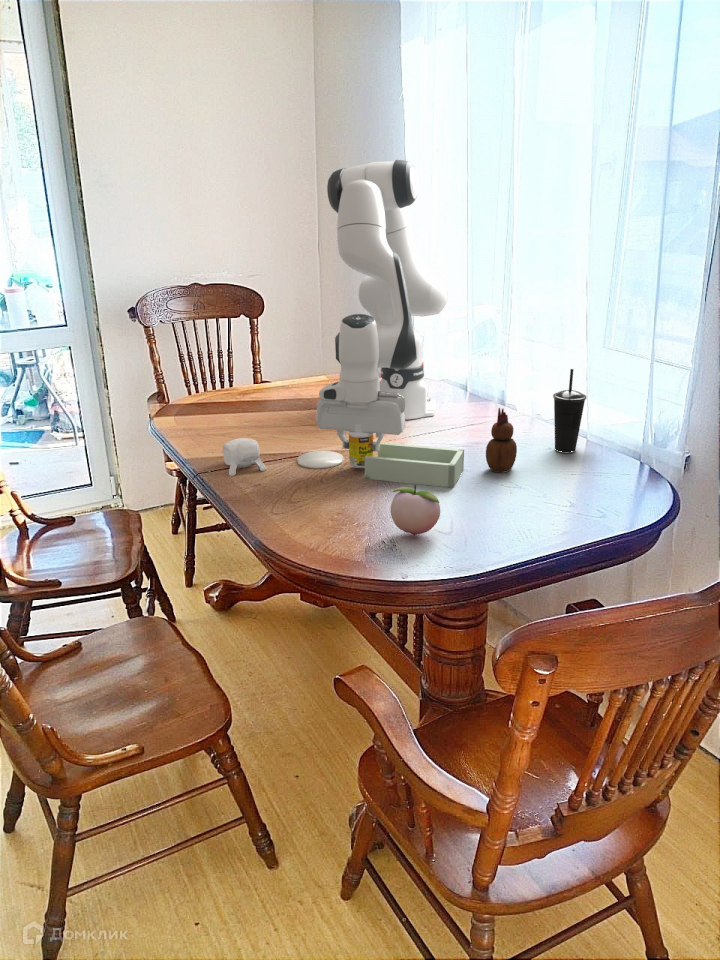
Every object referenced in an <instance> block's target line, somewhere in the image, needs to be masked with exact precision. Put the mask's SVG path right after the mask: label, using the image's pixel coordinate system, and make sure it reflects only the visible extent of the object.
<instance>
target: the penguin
mask: <svg viewBox="0 0 720 960" xmlns="http://www.w3.org/2000/svg"><path fill="white" fill-rule="evenodd" d="M222 455H223V460H224V463H225V465H227V466H229V469H228V476H230V477H234V476H236V473H237V471H236V470H237V468H247V467H250V466H252V465H255V466H256V467H258V470H260V471H261V472H266V470H267V467H266V465H265V463H264V462H263V460H262V458H260V455H261V450H260V445H259V443H258V442H257V440H255V439H252V438H247V437H239V438H235V439H232V440H230V441H228V442H225V443H223V444H222Z"/></svg>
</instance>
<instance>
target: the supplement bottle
mask: <svg viewBox="0 0 720 960" xmlns="http://www.w3.org/2000/svg"><path fill="white" fill-rule="evenodd" d="M355 429H356V430H355V432H354V431H348V440H349V449H348V459H349V460H348V461H349V465H350V466H351V467H353V468H357V469H365V457H366V456H374V451H372V450H371V449H372V447H371V444H372V443H373V442H374V433H367V432H361V431H362V429H361V425H357V424H356V425H355Z"/></svg>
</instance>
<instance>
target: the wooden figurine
mask: <svg viewBox="0 0 720 960" xmlns="http://www.w3.org/2000/svg"><path fill="white" fill-rule="evenodd" d="M490 432H491V436H492V439H490V440H489V441H488V443H487V445H486V447H485V460H486V464H487V466H488V468H489V469H490V470H491V471H492V472H495V473H506V472H509V471H510V470H511V469H512V468H513V467H514V464H515V462H516V458H517V451H518V450H517V449H518V446H517V443H516V441H515V440H514V438H512V437H513V435H514V426H513V424H512V423H511V422H509V416H508V414H507V412H505V411H504V408H502V409H501V407H499V408H498V409H497V421H496V422H494V423H493V425H492V426H491V431H490Z"/></svg>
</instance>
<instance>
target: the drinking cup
mask: <svg viewBox="0 0 720 960" xmlns="http://www.w3.org/2000/svg"><path fill="white" fill-rule="evenodd" d="M573 379H574V368H570V373H569V381H568V382H569V385H568V389H564V390H561V391H558V392H555V393H554V394H552V397H553V399H554V401H553V410H554V415H553V416H554V421H553V422H554V450H555V449H556V450H558V451H562V452H571V451H575V452H576V449H577V446H578V445H577V444H578V438H579V433H580V427H581V422H582V418H583V414H584V413H583V412H584V407H585V402H586V400H587V395H586V394H583V393H581V392H580V391H577V390H574V389H573Z"/></svg>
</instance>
